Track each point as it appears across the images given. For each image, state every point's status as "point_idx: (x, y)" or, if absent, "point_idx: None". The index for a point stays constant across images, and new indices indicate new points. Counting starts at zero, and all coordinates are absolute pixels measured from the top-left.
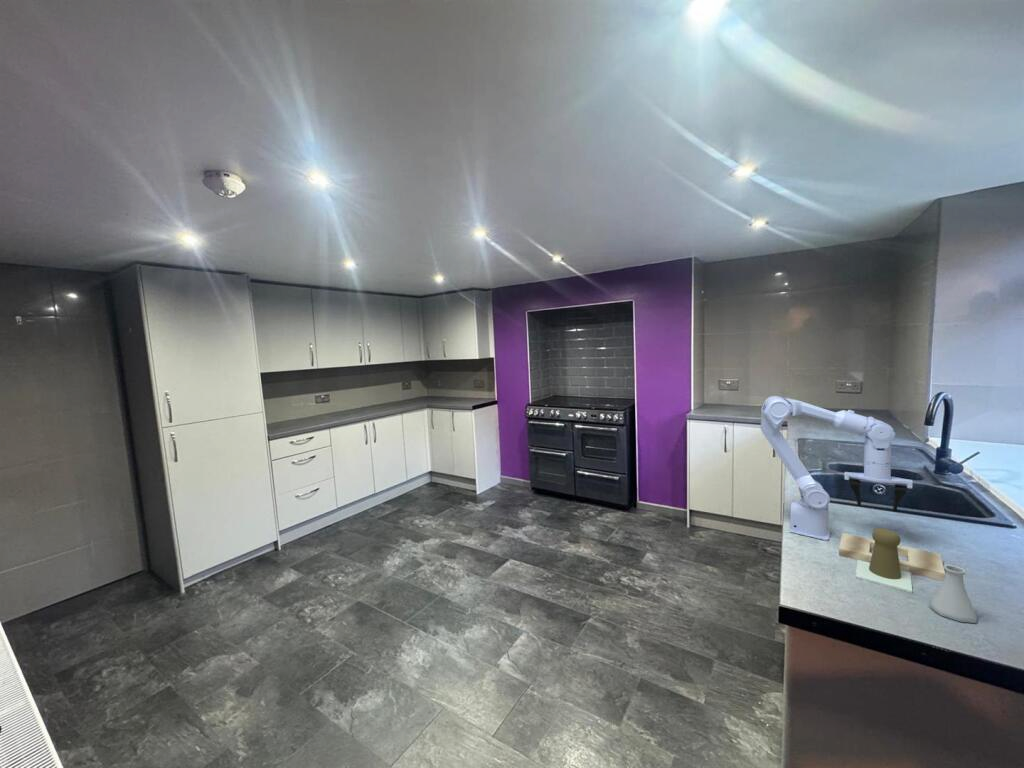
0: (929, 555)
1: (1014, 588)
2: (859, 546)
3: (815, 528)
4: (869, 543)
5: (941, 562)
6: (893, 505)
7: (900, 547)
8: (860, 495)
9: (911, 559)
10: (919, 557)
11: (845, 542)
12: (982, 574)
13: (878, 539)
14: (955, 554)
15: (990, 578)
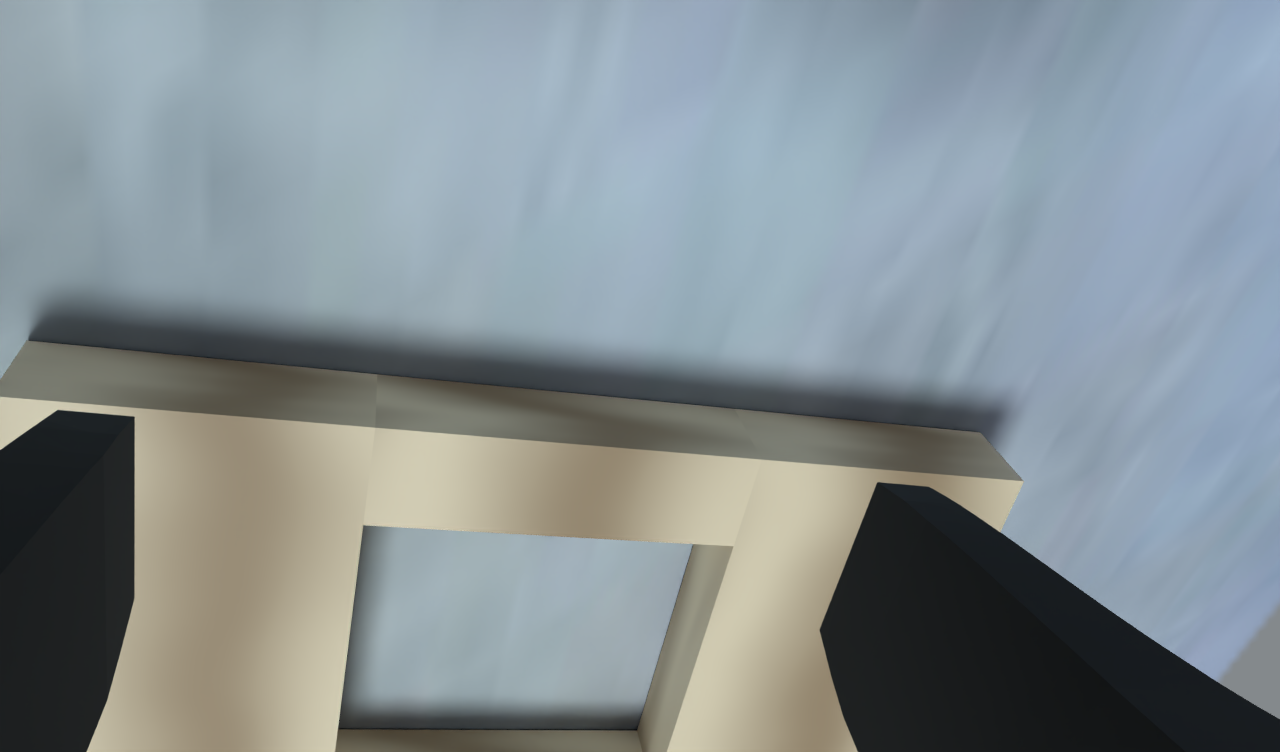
0: None
1: (1243, 642)
2: (235, 719)
3: None
4: (352, 580)
5: None
6: (898, 639)
7: (680, 514)
8: (20, 612)
9: (691, 744)
10: (782, 664)
11: None
12: (1182, 523)
13: None
14: (1247, 148)
15: (1193, 566)
